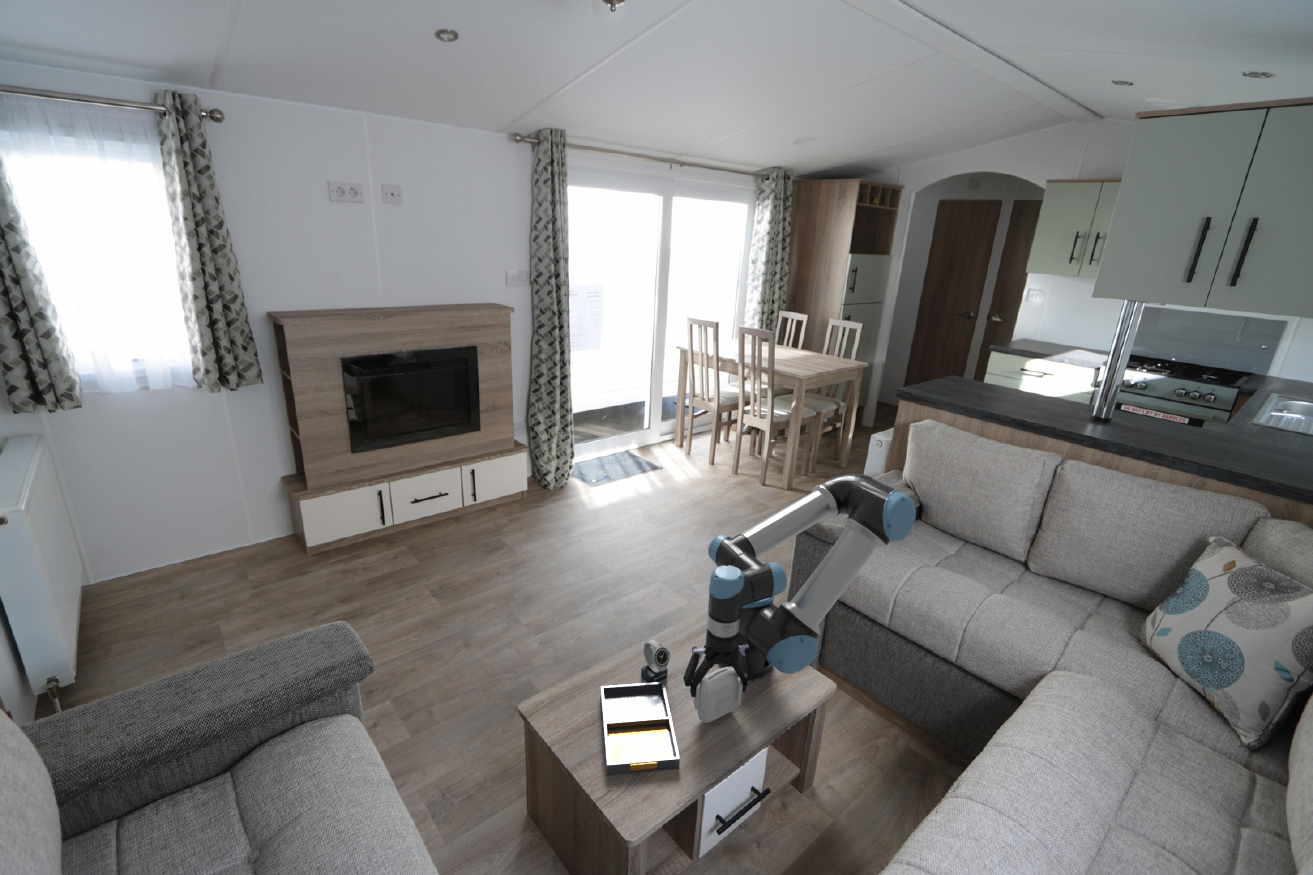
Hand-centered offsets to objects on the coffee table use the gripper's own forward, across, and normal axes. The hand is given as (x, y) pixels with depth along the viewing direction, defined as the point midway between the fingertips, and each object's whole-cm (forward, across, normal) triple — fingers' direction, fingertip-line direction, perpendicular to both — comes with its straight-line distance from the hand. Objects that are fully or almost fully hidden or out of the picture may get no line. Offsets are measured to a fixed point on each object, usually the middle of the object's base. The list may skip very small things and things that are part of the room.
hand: (717, 703), depth 150 cm
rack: (+4, -20, -2) cm, 20 cm away
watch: (+4, -13, +15) cm, 20 cm away
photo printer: (+3, 0, 0) cm, 3 cm away
